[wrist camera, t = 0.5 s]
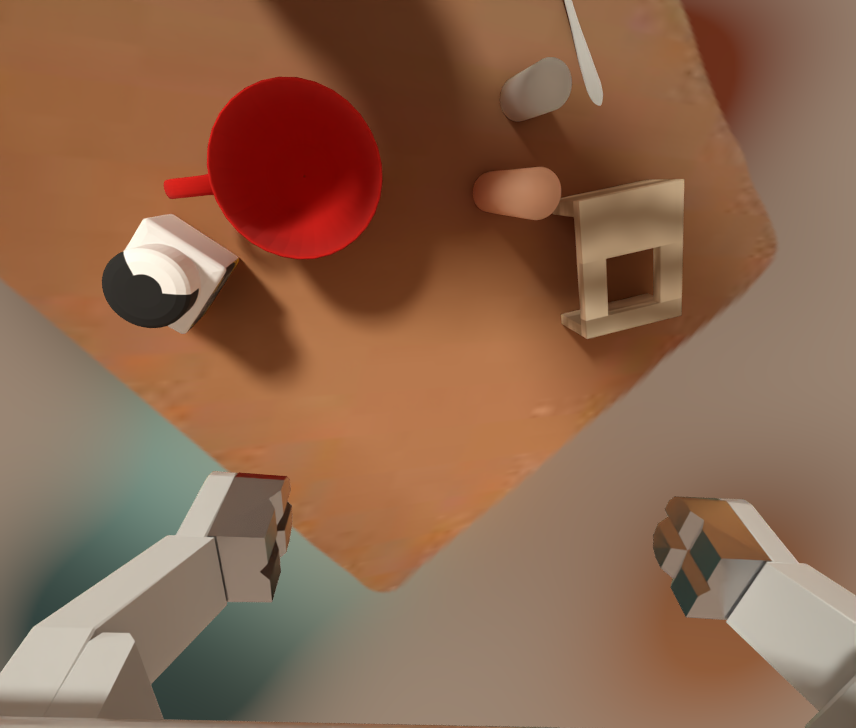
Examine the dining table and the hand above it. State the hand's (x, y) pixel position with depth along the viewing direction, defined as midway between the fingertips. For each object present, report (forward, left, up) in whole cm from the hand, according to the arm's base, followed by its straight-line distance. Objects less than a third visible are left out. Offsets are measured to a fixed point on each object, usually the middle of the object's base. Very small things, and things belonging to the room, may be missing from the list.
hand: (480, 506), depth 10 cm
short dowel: (-11, +18, -42) cm, 47 cm away
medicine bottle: (-2, -17, -42) cm, 45 cm away
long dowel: (-3, +14, -42) cm, 44 cm away
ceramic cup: (-8, -6, -42) cm, 43 cm away
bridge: (+6, +26, -42) cm, 50 cm away
